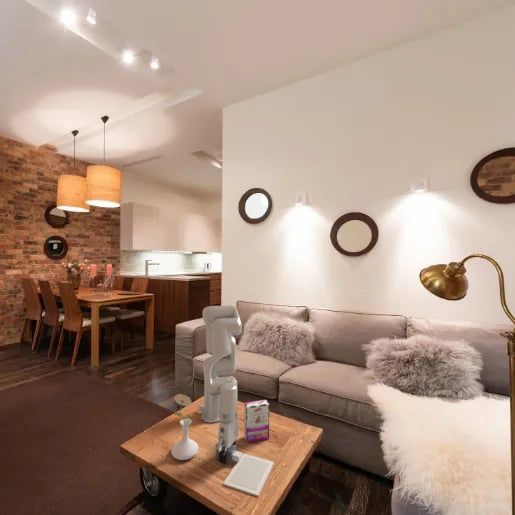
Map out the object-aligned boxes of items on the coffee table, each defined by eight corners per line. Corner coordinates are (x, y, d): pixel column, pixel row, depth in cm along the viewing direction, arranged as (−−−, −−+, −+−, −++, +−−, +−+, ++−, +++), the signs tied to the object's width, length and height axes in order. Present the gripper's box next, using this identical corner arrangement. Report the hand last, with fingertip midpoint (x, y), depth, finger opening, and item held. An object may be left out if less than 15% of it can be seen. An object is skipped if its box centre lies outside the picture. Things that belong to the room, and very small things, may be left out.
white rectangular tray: (223, 484, 107) (223, 483, 107) (243, 454, 124) (243, 453, 124) (258, 496, 102) (258, 494, 102) (274, 463, 119) (274, 461, 119)
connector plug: (213, 459, 121) (213, 447, 121) (218, 452, 125) (219, 440, 125) (238, 466, 117) (238, 454, 117) (242, 459, 121) (242, 447, 121)
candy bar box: (266, 433, 140) (266, 399, 140) (269, 439, 135) (269, 404, 135) (243, 436, 137) (244, 401, 137) (246, 443, 132) (246, 407, 132)
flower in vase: (204, 451, 126) (205, 394, 126) (184, 467, 116) (185, 405, 116) (183, 440, 133) (184, 386, 133) (163, 454, 123) (164, 396, 123)
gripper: (226, 427, 112) (225, 473, 112) (244, 406, 128) (244, 446, 128) (209, 423, 114) (208, 467, 114) (229, 403, 131) (228, 442, 131)
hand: (227, 456), depth 121 cm, fingers open, 7 cm apart
